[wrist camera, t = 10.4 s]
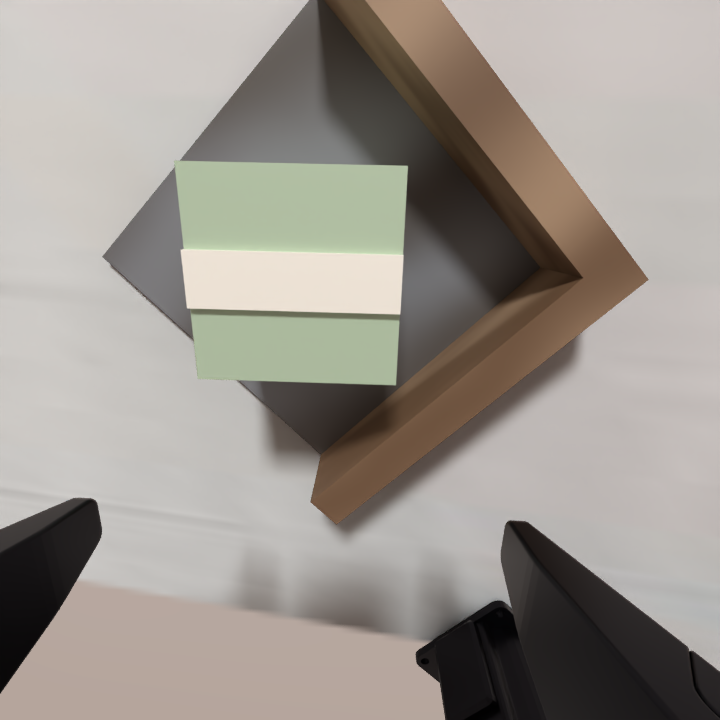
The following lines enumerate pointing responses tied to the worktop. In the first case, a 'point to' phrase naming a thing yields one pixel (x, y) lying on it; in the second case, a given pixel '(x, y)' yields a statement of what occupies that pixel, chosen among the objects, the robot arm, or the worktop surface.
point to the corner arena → (408, 228)
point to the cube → (293, 269)
